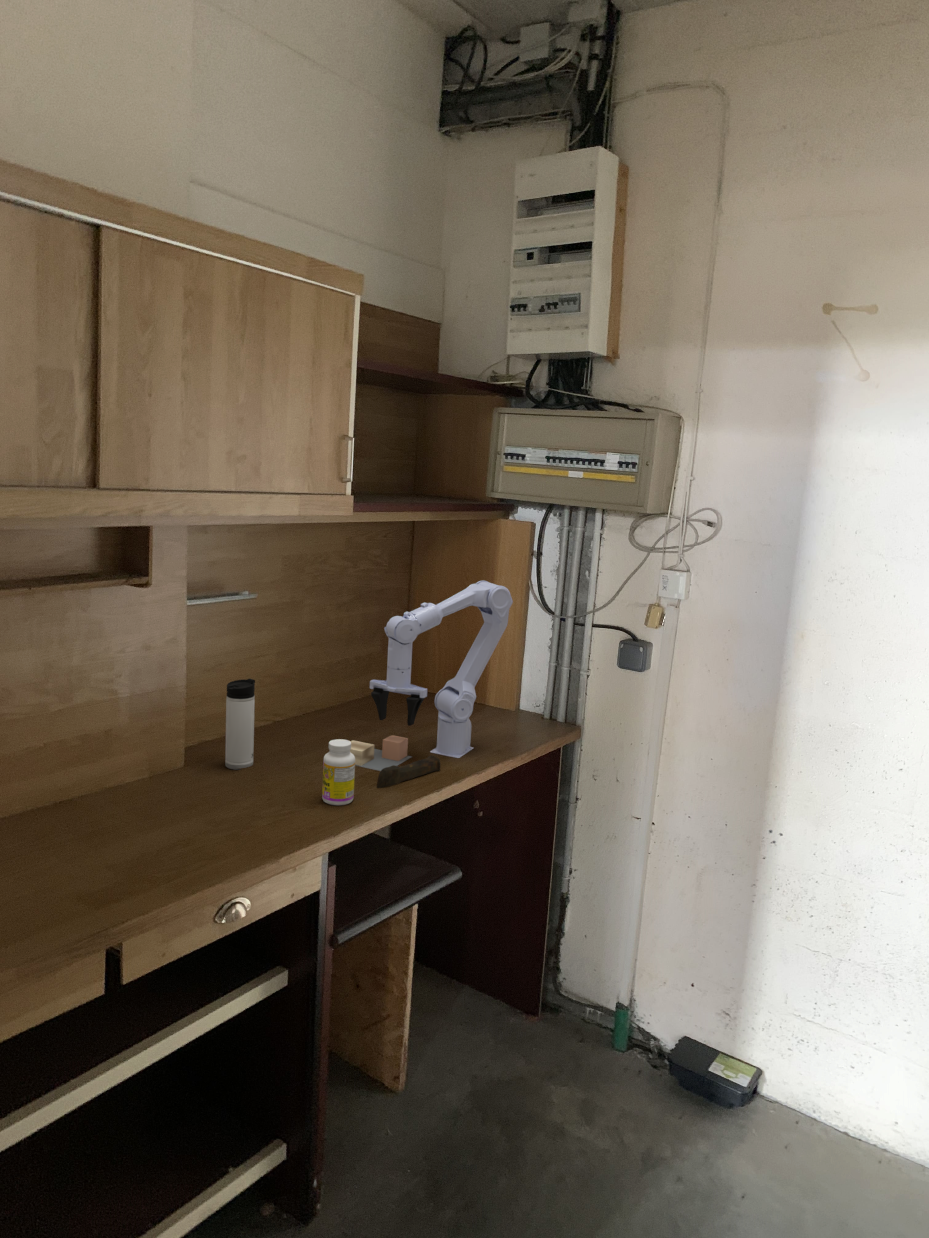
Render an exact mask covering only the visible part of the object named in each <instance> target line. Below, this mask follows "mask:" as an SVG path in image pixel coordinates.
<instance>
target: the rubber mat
mask: <svg viewBox="0 0 929 1238" xmlns="http://www.w3.org/2000/svg"><path fill="white" fill-rule="evenodd" d="M409 759H412V756H411V755H407V756H406V757H405V758H403V759H401V760H400V761H395V760H391V759H386V758H382V749H377V748H374V759H372V760H371V761H369V762H367V763H365V764H363V765H362V766H360V765H355V767H361V768H364V769H370V770H374V771H378V772H381V770H382V769H384V768H386V767H390V766H393V765H395V766H398V767H399V765H401V764H403V763H404V762H406V761H407V760H409Z"/></svg>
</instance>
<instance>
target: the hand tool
mask: <svg viewBox="0 0 929 1238" xmlns="http://www.w3.org/2000/svg"><path fill="white" fill-rule="evenodd" d="M440 760H441V759H440V758H439V757H437V756H435V755H429V756H428V757H426V758H424V759H420V760H415V761H413V762H412V763H407V764H405V765H401V766H399V765H398V766H395V765H393V766H390V767H386V768H384V769H382V770H381V771H379V774H378V777H377V782H376V788H377V789H381V788H386V787H391V786H395V785H398V784H401V783H403V782H405V781H408V780H413V779H414V778H418V777H421V776H424V775H427V774H431V773H433V772H440V771H441V761H440Z"/></svg>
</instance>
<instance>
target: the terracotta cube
mask: <svg viewBox="0 0 929 1238" xmlns="http://www.w3.org/2000/svg"><path fill="white" fill-rule="evenodd" d="M408 745H409V738H408V737H403V736H398V735H394V734H392V735H389V736H387V737H385V738H382V747H381V750H382V758H386V759H391V760H395V761H400V760H401V759H403V758H405V757H406V756H408Z"/></svg>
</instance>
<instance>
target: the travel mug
mask: <svg viewBox="0 0 929 1238" xmlns="http://www.w3.org/2000/svg"><path fill="white" fill-rule="evenodd" d="M255 683H256V680H255V679H253V678H247V679H235V680H232V681H230V682H228V683H227V684H226V697H225V698H226V699H225V707H226V708H225V754H224V755H225V759H224V760H225V761H224V762H225V763H224V764H225V768H228V769H229V770H234V771H235V770H236V771H237V770H238V771H242V770H243V769H245V768H249V767H252V766H253V765H254V745H255V743H254V741H255V738H254V737H255V703H256V702H255V701H256V700H255V698H256V697H255V696H256V695H255V689H256V688H255Z"/></svg>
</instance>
